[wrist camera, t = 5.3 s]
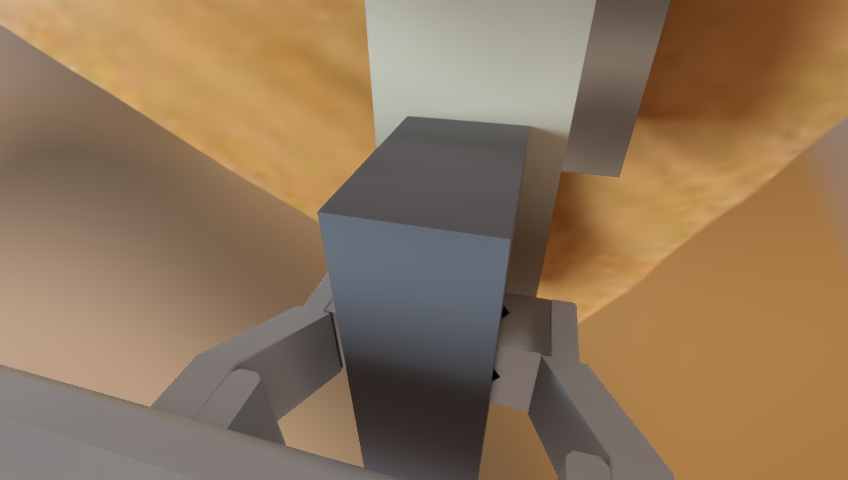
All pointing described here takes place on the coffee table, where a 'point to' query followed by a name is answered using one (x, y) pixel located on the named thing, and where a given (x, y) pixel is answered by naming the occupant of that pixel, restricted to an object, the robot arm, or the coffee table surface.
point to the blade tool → (447, 215)
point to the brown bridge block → (613, 83)
